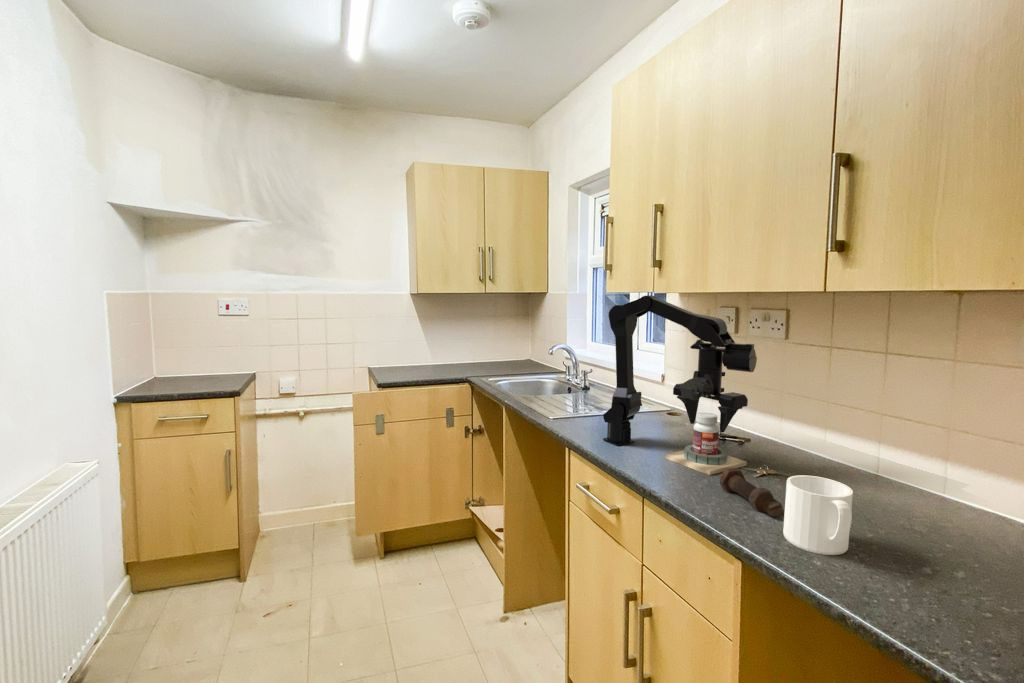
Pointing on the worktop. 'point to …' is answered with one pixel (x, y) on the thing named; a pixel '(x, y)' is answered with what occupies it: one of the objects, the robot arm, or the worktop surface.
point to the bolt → (750, 492)
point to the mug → (818, 514)
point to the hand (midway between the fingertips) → (706, 427)
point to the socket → (706, 460)
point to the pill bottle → (705, 434)
